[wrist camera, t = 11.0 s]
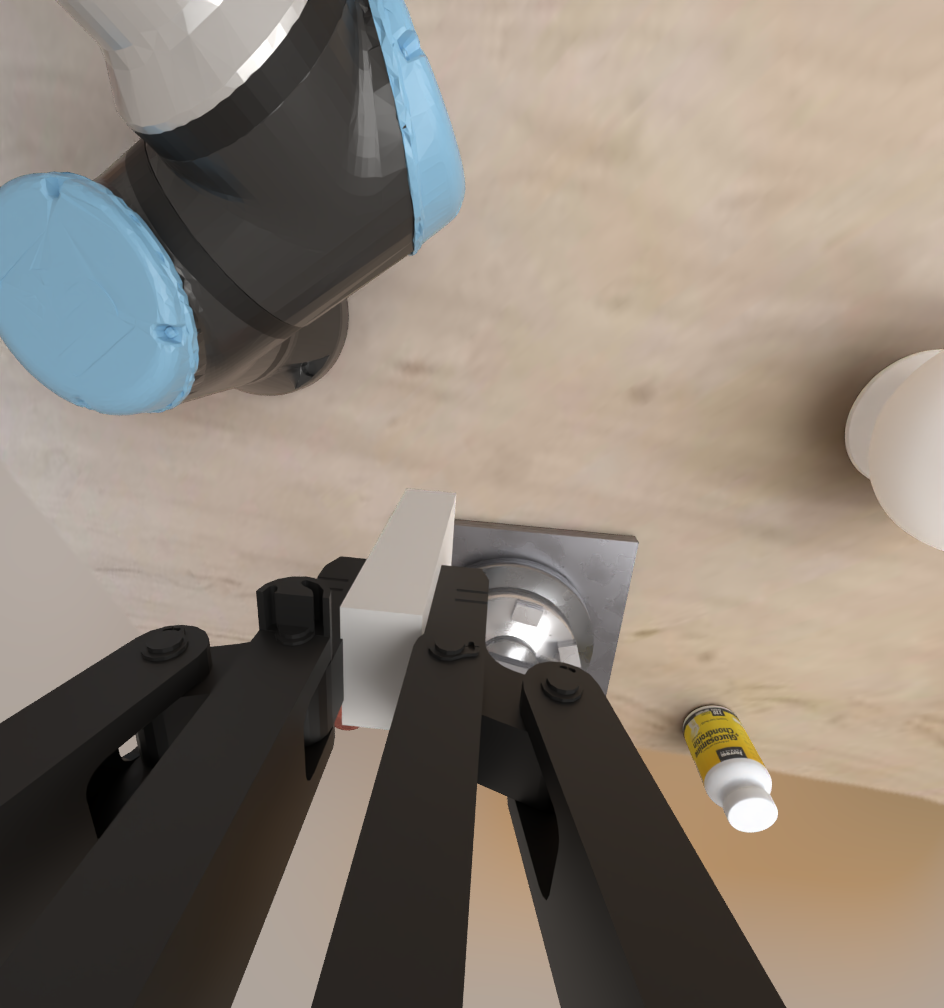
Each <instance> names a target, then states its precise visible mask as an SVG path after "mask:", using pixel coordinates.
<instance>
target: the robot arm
mask: <svg viewBox="0 0 944 1008" xmlns="http://www.w3.org/2000/svg"><path fill="white" fill-rule="evenodd" d="M56 1H57V2H58V3H59V4H60V5H61V6H62V7H63V8H64V9H65V10H66V11H67V12H68V13H69V14H70V15H71V17H72V18H73V19H74V20H75V21H76V22H77V23H78V24H79V25H80V26H81V27H82V28H83V29H84V30H85V31H86V32H87V33H88V34H89V35H90V36H91V37H92V38H93V39H94V40H95V41H96V42H97V43H98V44H99V47H100V49H101V51H102V53H103V56H104V58H105V60H106V65H107V70H108V74H109V79H110V84H111V88H112V93H113V98H114V102H115V106H116V110H117V113H118V114H119V116H120V117H121V118H122V119H123V120H124V122H125V123H126V124H127V125H128V126H129V127H130V128H131V129H132V130H133V131H134V132H135V133H136V134H138V135H139V136H140V137H141V139H140V140H139V141H138V142H137V143H136V144H135V145H134V146H132V147H131V148H130V149H129V150H128V151H127V152H126V153H125V154H123V155H122V156H121V157H120V158H119V159H118V160H117V161H116V162H114V163H113V164H112V165H111V166H110V167H109V168H108V169H107V170H105V171H104V172H103V173H102V174H101V175H100V176H99V177H97V178H96V179H94V180H90V179H88V178H86V177H84V176H81V175H78V174H74V173H70V172H61V173H59V172H49V173H33V174H28V175H23V176H20V177H17V178H15V179H12V180H11V181H9V182H7V183H5V184H4V185H2V186H1V187H0V337H1V338H2V340H3V341H4V343H5V344H6V346H7V347H8V348H9V350H10V351H11V352H12V354H13V355H14V356H15V357H16V359H17V360H18V361H19V362H20V363H21V364H22V365H23V367H24V368H25V369H26V370H27V371H28V372H29V373H30V374H31V375H32V376H33V377H35V378H36V379H37V380H38V381H39V382H40V383H42V384H43V385H44V386H45V387H47V388H48V389H49V390H51V391H52V392H54V393H55V394H57V395H58V396H60V397H62V398H63V399H65V400H67V401H69V402H71V403H73V404H75V405H77V406H80V407H86V408H88V409H89V410H95V411H97V412H99V413H102V414H109V415H133V414H138V413H145V412H146V413H154V412H156V413H160V412H163V411H165V410H169V409H172V408H174V407H176V406H177V405H179V404H181V403H184V402H188V401H191V400H195V399H198V398H201V397H205V396H208V395H212V394H215V393H219V392H222V391H225V390H229V389H232V388H235V389H238V390H240V391H243V392H247V393H251V394H256V395H266V396H272V395H283V394H288V393H291V392H294V391H297V390H300V389H302V388H305V387H307V386H309V385H311V384H313V383H315V382H316V381H318V380H319V379H320V378H322V377H323V376H324V375H325V374H326V373H327V372H328V371H329V370H330V369H331V368H332V366H333V365H334V363H335V362H336V360H337V359H338V357H339V355H340V353H341V351H342V348H343V346H344V343H345V339H346V335H347V330H348V316H349V315H348V303H347V297H349V296H350V295H352V294H353V293H354V292H356V291H357V290H359V289H360V288H362V287H363V286H364V285H366V284H367V283H369V282H370V281H371V280H373V279H374V278H376V277H377V276H379V275H380V274H381V273H383V272H384V271H386V270H387V269H389V268H390V267H391V266H393V265H394V264H396V263H397V262H399V261H400V260H401V259H403V258H404V257H406V256H407V255H409V256H413V255H414V254H416V253H417V251H418V250H419V249H420V248H421V245H422V244H423V243H424V242H425V241H426V240H428V239H429V238H430V237H432V236H433V235H434V234H435V233H437V232H438V231H439V230H441V229H442V228H443V227H444V226H446V225H447V224H448V223H450V222H451V221H452V220H453V219H454V218H455V216H456V215H457V214H458V212H459V210H460V208H461V204H462V202H463V199H464V193H465V178H464V171H463V165H462V161H461V157H460V153H459V149H458V145H457V142H456V138H455V135H454V132H453V128H452V125H451V122H450V119H449V116H448V113H447V110H446V107H445V104H444V101H443V98H442V95H441V93H440V90H439V87H438V84H437V81H436V79H435V76H434V74H433V71H432V69H431V66H430V63H429V61H428V58H427V57H426V55H425V54H424V52H423V51H422V49H421V48H420V41H419V39H418V36H417V34H416V32H415V29H414V26H413V23H412V20H411V17H410V14H409V11H408V9H407V7H406V4H405V2H404V0H56ZM455 504H456V493H451V492H441V491H430V490H419V489H409V488H407V489H406V490H405V492H404V494H403V496H402V497H401V499H400V501H399V503H398V505H397V506H396V508H395V510H394V512H393V513H392V515H391V517H390V519H389V521H388V522H387V524H386V526H385V528H384V529H383V531H382V533H381V535H380V537H379V538H378V540H377V542H376V544H375V546H374V547H373V549H372V551H371V553H370V554H369V556H368V558H367V559H361V558H351V557H339V558H337V559H336V560H334V561H332V562H330V563H329V564H327V565H326V566H325V567H324V568H323V570H322V571H321V573H320V574H319V575H318V578H317V579H315V578H310V577H287V578H282V579H277V580H274V581H272V582H269V583H267V584H265V585H263V586H262V587H261V588H259V589H258V590H257V591H256V595H257V607H258V618H259V631H258V633H257V634H256V635H255V637H254V638H253V639H252V640H251V642H247V643H241V644H233V645H224V646H214V647H210V643H209V638H208V636H207V634H206V632H205V631H203V630H201V629H199V628H198V627H194V626H187V625H175V626H166V627H163V628H159V629H156V630H152V631H149V632H147V633H145V634H143V635H141V636H139V637H137V638H135V639H134V640H132V641H131V642H129V643H127V644H126V645H124V646H123V647H121V648H119V649H118V650H116V651H115V652H113V653H111V654H110V655H109V656H107V657H105V658H103V659H102V660H100V661H99V662H97V663H96V664H94V665H92V666H91V667H89V668H88V669H86V670H84V671H83V672H81V673H80V674H78V675H76V676H75V677H73V678H72V679H70V680H68V681H67V682H65V683H64V684H62V685H61V686H59V687H57V688H56V689H54V690H53V691H51V692H50V693H48V694H46V695H45V696H43V697H41V698H40V699H38V700H37V701H35V702H34V703H32V704H30V705H29V706H27V707H25V708H24V709H22V710H21V711H19V712H18V713H16V714H14V715H13V716H11V717H10V718H8V719H6V720H5V721H3V722H2V723H0V1008H231V1006H232V1003H233V1000H234V998H235V996H236V993H237V991H238V988H239V985H240V983H241V980H242V978H243V975H244V973H245V970H246V968H247V965H248V963H249V960H250V957H251V955H252V952H253V950H254V947H255V945H256V942H257V940H258V937H259V935H260V932H261V929H262V927H263V924H264V922H265V919H266V917H267V914H268V912H269V909H270V907H271V904H272V901H273V899H274V896H275V894H276V891H277V888H278V886H279V884H280V881H281V879H282V876H283V874H284V871H285V868H286V866H287V863H288V861H289V858H290V856H291V853H292V851H293V848H294V845H295V843H296V840H297V838H298V835H299V832H300V830H301V828H302V825H303V823H304V820H305V817H306V815H307V812H308V810H309V807H310V805H311V802H312V800H313V797H314V795H315V792H316V789H317V787H318V784H319V782H320V779H321V777H322V774H323V772H324V769H325V767H326V764H327V762H328V759H329V757H330V754H331V751H332V749H333V745H334V738H335V726H334V722H335V720H336V717H337V715H338V713H339V710H340V708H341V705H342V725H348V726H358V727H367V728H376V729H385V730H389V734H388V737H387V741H386V744H385V748H384V752H383V755H382V759H381V762H380V766H379V769H378V773H377V776H376V780H375V783H374V787H373V790H372V794H371V797H370V801H369V805H368V808H367V812H366V816H365V819H364V822H363V826H362V830H361V833H360V836H359V840H358V844H357V847H356V850H355V854H354V858H353V861H352V865H351V868H350V872H349V875H348V879H347V882H346V886H345V890H344V893H343V897H342V900H341V904H340V907H339V911H338V914H337V918H336V921H335V925H334V928H333V932H332V935H331V939H330V943H329V946H328V950H327V953H326V957H325V960H324V964H323V967H322V971H321V974H320V978H319V982H318V985H317V989H316V992H315V996H314V999H313V1003H312V1006H311V1008H462V1006H463V991H464V976H465V960H466V944H467V929H468V915H469V899H470V884H471V869H472V852H473V838H474V823H475V806H476V791H477V783H478V784H480V785H482V786H485V787H487V788H489V789H492V790H494V791H496V792H498V793H501V794H503V795H505V796H507V797H508V798H507V799H508V807H509V811H510V815H511V819H512V823H513V826H514V830H515V834H516V838H517V842H518V845H519V849H520V853H521V856H522V861H523V864H524V869H525V872H526V876H527V880H528V884H529V888H530V891H531V895H532V899H533V903H534V906H535V910H536V914H537V918H538V922H539V926H540V930H541V933H542V937H543V941H544V945H545V949H546V952H547V956H548V960H549V964H550V968H551V971H552V975H553V979H554V983H555V987H556V991H557V994H558V998H559V1002H560V1006H561V1008H786V1006H785V1005H784V1003H783V1001H782V999H781V998H780V996H779V994H778V992H777V991H776V989H775V987H774V986H773V984H772V982H771V980H770V979H769V977H768V975H767V974H766V972H765V970H764V968H763V967H762V965H761V963H760V961H759V960H758V958H757V956H756V955H755V953H754V951H753V950H752V948H751V946H750V944H749V942H748V941H747V939H746V937H745V936H744V934H743V932H742V931H741V929H740V927H739V925H738V924H737V922H736V920H735V918H734V917H733V915H732V913H731V912H730V910H729V908H728V906H727V905H726V903H725V901H724V899H723V898H722V896H721V894H720V893H719V891H718V889H717V887H716V886H715V884H714V882H713V880H712V879H711V877H710V876H709V874H708V872H707V870H706V869H705V867H704V865H703V863H702V862H701V860H700V858H699V856H698V855H697V853H696V851H695V849H694V848H693V846H692V844H691V843H690V841H689V839H688V837H687V836H686V834H685V833H684V830H683V829H682V827H681V825H680V824H679V822H678V820H677V818H676V817H675V815H674V813H673V812H672V810H671V808H670V806H669V805H668V803H667V801H666V799H665V798H664V796H663V794H662V793H661V791H660V789H659V787H658V786H657V784H656V782H655V781H654V779H653V777H652V775H651V774H650V772H649V770H648V769H647V767H646V765H645V763H644V762H643V760H642V758H641V756H640V755H639V753H638V751H637V749H636V748H635V746H634V744H633V743H632V741H631V739H630V737H629V736H628V734H627V732H626V731H625V729H624V727H623V725H622V724H621V722H620V720H619V718H618V717H617V715H616V713H615V712H614V710H613V708H612V706H611V705H610V703H609V701H608V700H607V698H606V696H605V694H604V693H603V691H602V689H601V687H600V686H599V684H598V683H597V682H596V681H595V680H594V678H593V677H592V676H591V675H590V674H588V673H587V672H585V671H584V670H582V669H580V668H579V667H576V666H573V665H570V664H567V663H564V662H552V661H549V662H544V663H539V664H536V665H534V666H533V667H531V668H530V669H528V670H527V672H526V674H522V673H519V672H516V671H513V670H511V669H509V668H506V667H504V666H503V665H501V664H500V663H498V662H497V661H495V660H494V659H493V657H492V656H491V655H490V654H489V652H488V650H487V648H486V643H485V639H486V623H487V607H488V592H489V579H488V577H487V576H486V575H485V573H484V572H483V570H482V569H478V568H468V567H458V566H451V561H452V547H453V533H454V518H455ZM134 735H136V740H137V744H138V746H137V747H136V748H135V749H134V750H133V751H131V752H130V753H128V754H126V755H125V756H123V757H121V756H120V754H119V749H118V748H119V747H120V746H122V745H123V744H124V743H125V742H126V741H128V740H129V739H130V738H131V737H132V736H134Z"/></svg>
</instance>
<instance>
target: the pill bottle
mask: <svg viewBox="0 0 944 1008" xmlns="http://www.w3.org/2000/svg"><path fill="white" fill-rule="evenodd" d="M683 735H684V738H685V740H686V743H687V745H688V748H689V750H690V753H691V755H692V758H693V760H694V763H695V765H696V768H697V770H698V772H699V775H700V777H701V780H702V782H703V785H704V787H705V790H706V792H707V794H708V796H709V797H710V798H711V799H712V801H714V802H715V803H716V804H717V805H719V806H721V807H723V809H724V812H725V815H726V816H727V819H728V821H729V823H730V824H731V825H732V826H733V827H734V828H735V829H737V830H740V831H744V832H758V831H762V830H764V829H766V828H768V827H770V826H771V825H772V824H773V823H774V822H775V821H776V819H777V816H778V811H777V807H776V805H775V803H774V801H773V799H772V797H771V796H770V792H771V788H772V781H771V777H770V775H769V773H768V771H767V769H766V767H765V765H764V764H763V762H762V760H761V758H760V756H759V755H758V753H757V751H756V749H755V747H754V746H753V744H752V742H751V740H750V739H749V737H748V735H747V733H746V731H745V730H744V728H743V726H742V724H741V722H740V721H739V719H738V718H737V716H736V715H735V714H734V713H733V712H732V711H730V710H729V709H727V708H724V707H721V706H714V705H711V706H704V707H701V708H698V709H696V710H694V711H693V712H691V713H690V714H689V715H688V716H687V718H686V719H685V721H684V724H683Z"/></svg>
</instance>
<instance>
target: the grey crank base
mask: <svg viewBox="0 0 944 1008" xmlns="http://www.w3.org/2000/svg"><path fill="white" fill-rule="evenodd" d="M638 544H639V542H638V540H637V539H636V537H635V536H625V535H614V534H604V533H593V532H583V531H572V530H562V529H551V528H541V527H530V526H520V525H509V524H499V523H488V522H478V521H467V520H457V519H454V533H453V547H452V561H451V566H458V567H468V568H478V569H482V570H483V572H484V573H485V575H486V576H487V577H488V579H489V589H490V588H497V587H514V588H521V589H525V590H529V591H532V592H535V593H537V594H539V595H541V596H543V597H545V598H547V599H548V600H550V601H551V602H553V603H554V604H555V605H556V606H557V607H558V608H559V609H560V610H561V611H562V612H563V614H564V615H565V616H566V618H567V620H568V621H569V623H570V626H571V628H572V631H573V635H574V639H576V643H577V648H578V653H579V659H580V664H581V667H579V668H580V669H582V670H584V671H585V672H587V673H588V674H590V675H591V676H592V677H593V678H594V680H595V681H596V682H597V683H598V684H599V686H600V687H601V689H602V691H603V693H604V694H605V696H606V694H607V689H608V684H609V680H610V675H611V670H612V666H613V661H614V656H615V652H616V647H617V642H618V638H619V633H620V628H621V623H622V619H623V614H624V609H625V605H626V600H627V595H628V591H629V586H630V581H631V577H632V572H633V567H634V563H635V558H636V553H637V549H638Z"/></svg>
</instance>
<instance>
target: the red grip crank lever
mask: <svg viewBox="0 0 944 1008" xmlns="http://www.w3.org/2000/svg"><path fill="white" fill-rule="evenodd" d="M485 643H486V648H487V650H488V652H489V654H490V655H491V656H492V657H493V659H494V660H495V661H497V662H498V663H500V664H501V665H503V666H504V667H506V668H509V669H511V670H513V671H516V672H519V673H522V674H526V672H527V670H528V669H530V668H531V667H533V666H534V665H536V664H539V663H544V662H549V661H552V662H564V663H567V664H570V665H573V666H576V667H581V664H580V659H579V653H578V648H577V643H576V639H574V635H573V631H572V628H571V626H570V623H569V621H568V620H567V618H566V616H565V615H564V614H563V612H562V611H561V610H560V609H559V608H558V607H557V606H556V605H555V604H554V603H553V602H551V601H550V600H548V599H547V598H545V597H543V596H541V595H539V594H537V593H535V592H532V591H529V590H525V589H521V588H514V587H497V588H490V589H489V592H488V607H487V623H486V639H485ZM334 726H335V727H336V728H338V729H341V730H354V729H357V728H359V727H358V726H348V725H342V705H341V708H340V710H339V713H338V715H337V717H336V720H335V722H334Z"/></svg>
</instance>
